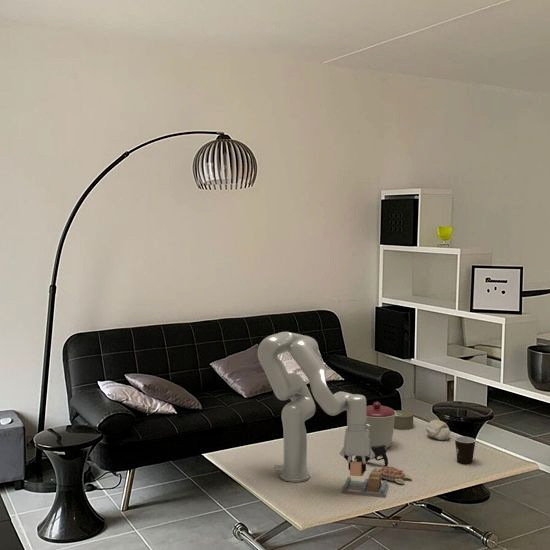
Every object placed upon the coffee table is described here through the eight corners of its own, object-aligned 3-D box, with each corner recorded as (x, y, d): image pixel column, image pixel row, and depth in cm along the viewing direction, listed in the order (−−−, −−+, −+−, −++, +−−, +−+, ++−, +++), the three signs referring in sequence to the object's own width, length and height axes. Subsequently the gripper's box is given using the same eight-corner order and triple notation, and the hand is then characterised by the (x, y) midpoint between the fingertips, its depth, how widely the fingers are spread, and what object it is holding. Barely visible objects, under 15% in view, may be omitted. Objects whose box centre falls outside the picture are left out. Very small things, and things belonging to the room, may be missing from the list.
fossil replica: (446, 443, 336) (452, 439, 344) (448, 426, 335) (455, 422, 344) (421, 437, 342) (429, 433, 351) (424, 420, 342) (431, 417, 350)
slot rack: (341, 492, 277) (341, 486, 277) (346, 482, 288) (346, 476, 287) (385, 497, 272) (385, 490, 272) (388, 486, 283) (388, 480, 283)
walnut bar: (371, 483, 284) (371, 471, 283) (381, 484, 283) (381, 472, 282) (368, 490, 276) (368, 478, 276) (378, 492, 275) (378, 479, 275)
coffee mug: (474, 466, 305) (474, 443, 304) (453, 464, 308) (454, 441, 307) (475, 457, 316) (476, 435, 315) (455, 455, 319) (456, 433, 318)
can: (418, 428, 360) (418, 414, 359) (400, 431, 354) (400, 418, 353) (402, 422, 370) (403, 409, 369) (384, 425, 364) (384, 412, 363)
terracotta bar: (353, 474, 283) (353, 461, 284) (363, 475, 282) (363, 462, 283) (349, 475, 276) (350, 462, 277) (360, 476, 275) (360, 463, 276)
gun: (363, 473, 312) (353, 452, 314) (394, 463, 304) (384, 441, 306) (360, 475, 310) (350, 454, 311) (391, 465, 302) (381, 443, 303)
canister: (377, 455, 319) (378, 409, 317) (348, 445, 333) (349, 401, 331) (404, 447, 330) (404, 402, 328) (375, 437, 344) (375, 395, 342)
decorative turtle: (384, 468, 304) (384, 457, 304) (419, 477, 294) (419, 465, 293) (361, 480, 291) (361, 468, 290) (396, 490, 280) (397, 478, 280)
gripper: (379, 425, 280) (379, 470, 281) (337, 422, 285) (338, 467, 286) (376, 430, 273) (377, 477, 274) (333, 428, 277) (334, 473, 279)
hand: (357, 471), depth 280 cm, fingers closed on terracotta bar, 4 cm apart
